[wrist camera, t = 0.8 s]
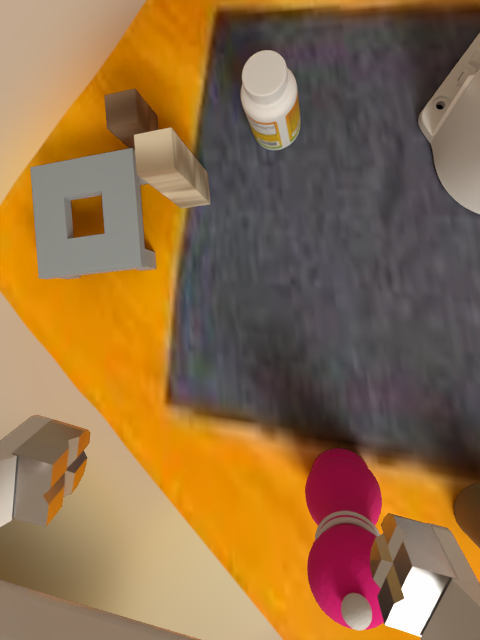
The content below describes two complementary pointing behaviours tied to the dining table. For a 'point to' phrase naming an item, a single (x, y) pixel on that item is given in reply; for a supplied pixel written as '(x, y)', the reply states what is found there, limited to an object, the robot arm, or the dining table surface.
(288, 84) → the supplement bottle
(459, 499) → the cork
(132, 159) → the collar stand
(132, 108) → the walnut peg
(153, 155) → the maple peg
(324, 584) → the pepper mill
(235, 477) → the dining table surface
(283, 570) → the dining table surface
